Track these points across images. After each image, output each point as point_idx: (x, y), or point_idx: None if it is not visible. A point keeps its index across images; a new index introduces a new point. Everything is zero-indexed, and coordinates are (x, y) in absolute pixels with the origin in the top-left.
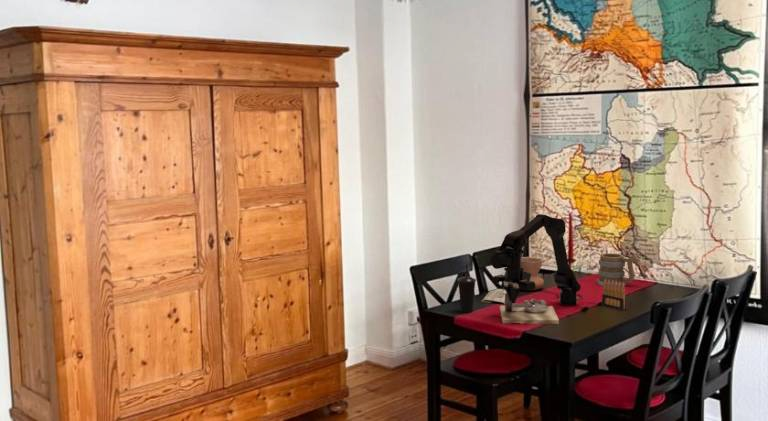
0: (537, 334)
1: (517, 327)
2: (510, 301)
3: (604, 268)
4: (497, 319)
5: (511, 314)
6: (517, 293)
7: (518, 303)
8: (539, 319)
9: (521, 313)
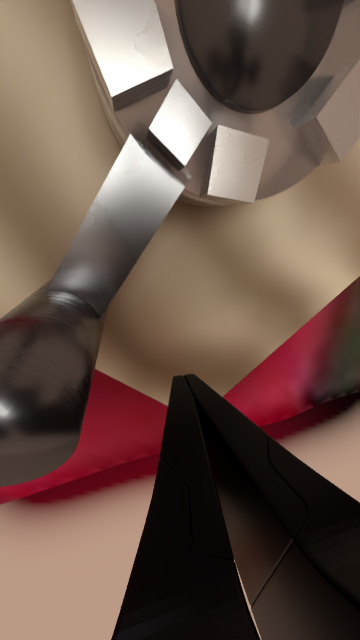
0: (354, 383)
1: (267, 390)
2: (96, 357)
3: None
4: (124, 391)
5: (155, 335)
6: (296, 482)
7: (95, 214)
8: (336, 282)
9: (183, 264)
